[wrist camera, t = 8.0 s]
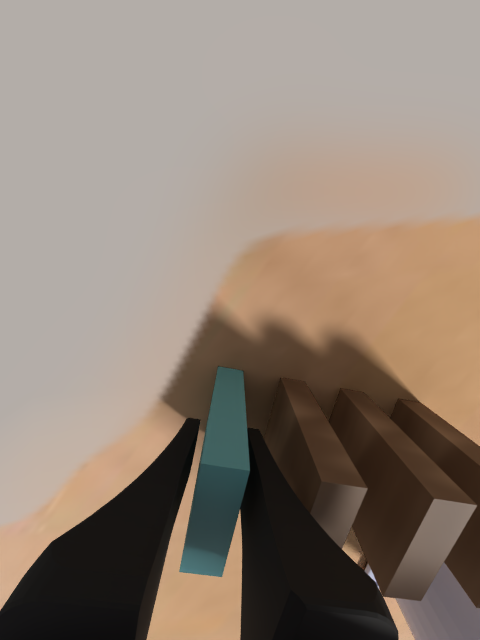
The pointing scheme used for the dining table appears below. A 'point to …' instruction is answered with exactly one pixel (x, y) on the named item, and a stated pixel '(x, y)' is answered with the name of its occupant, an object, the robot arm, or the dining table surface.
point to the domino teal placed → (219, 478)
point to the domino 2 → (398, 499)
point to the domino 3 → (463, 469)
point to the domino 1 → (314, 459)
